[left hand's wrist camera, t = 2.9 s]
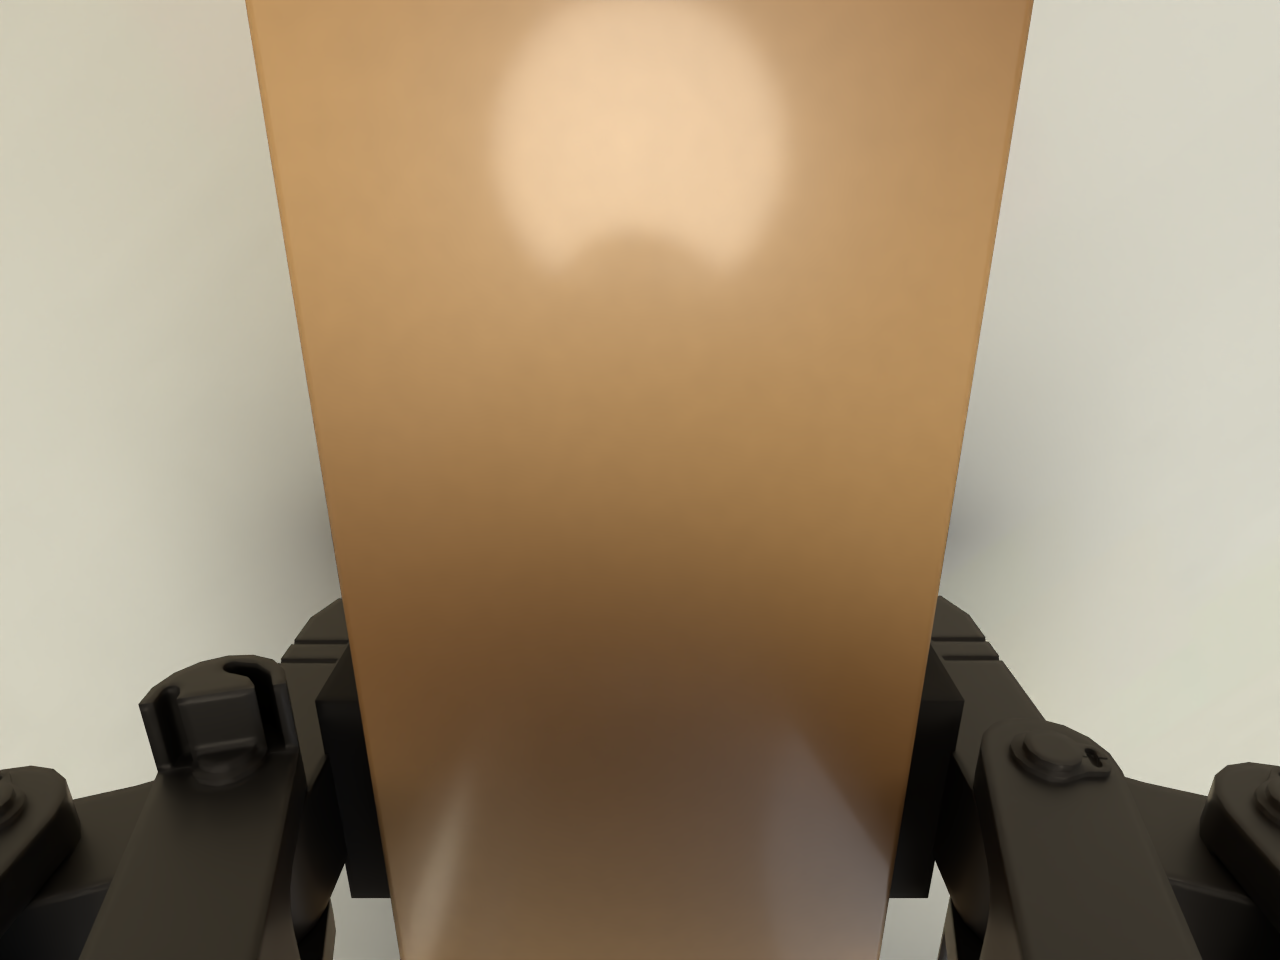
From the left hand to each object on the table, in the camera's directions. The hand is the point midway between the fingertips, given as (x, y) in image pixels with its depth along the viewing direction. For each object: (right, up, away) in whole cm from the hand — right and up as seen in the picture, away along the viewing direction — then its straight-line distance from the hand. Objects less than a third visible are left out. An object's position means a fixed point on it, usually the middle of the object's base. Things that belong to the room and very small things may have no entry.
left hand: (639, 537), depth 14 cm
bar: (0, +31, -12) cm, 33 cm away
